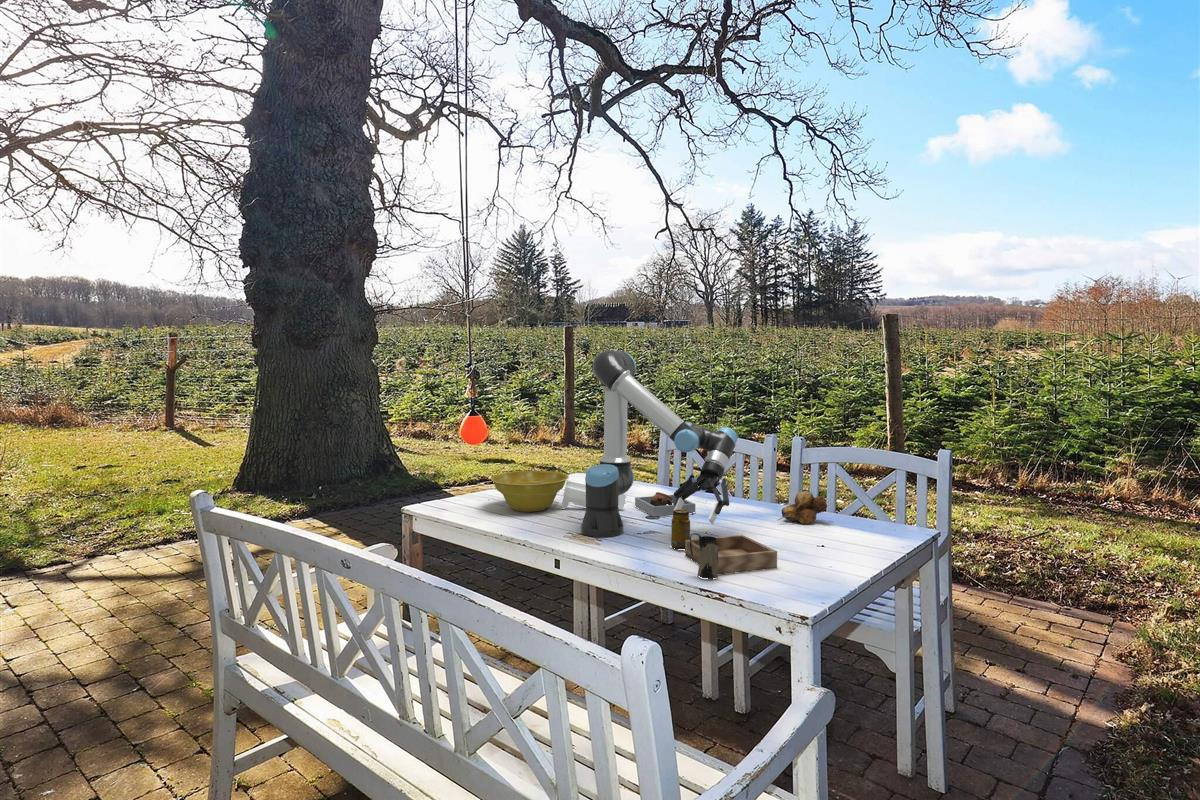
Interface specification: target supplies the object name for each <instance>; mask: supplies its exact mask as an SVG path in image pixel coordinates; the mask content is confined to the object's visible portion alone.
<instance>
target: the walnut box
mask: <svg viewBox="0 0 1200 800" xmlns="http://www.w3.org/2000/svg"><path fill="white" fill-rule="evenodd" d="M714 537H715V536H714ZM715 538H717V545H718V574H722V575H726V574H725V573H731V574H736V573H735V572H739V573H746V572H745V571H748V572H753V571H752V570H756V571H762V570H763V569H765V570H770V569H772V570H773V569H777V568H778V550H775V549H774V548H771V547H769V546H767V545H765V544H763V543H760V542H759V541H757V540H755V539H753V538H750V537H748V536H745V534H744V535H743V534H737V535H736V534H735V535H727V536H726V535H725V536H716V537H715ZM691 541H692V553H693V556H694V557H698V558H693V557H692V555H691V550H690V540H685V551H684V553H685V556H684V557H686V556H687V557H686V558H688V559H689V558H690V559H689V560H691V559H692V560H693V561H692V560H691V561H692V562H694V561H695V562H694V563H696V562H697V563H698V565H699V538H695V539H694V538H693V539H691ZM697 563H696V564H697Z"/></svg>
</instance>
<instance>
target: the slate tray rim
mask: <svg viewBox="0 0 1200 800" xmlns="http://www.w3.org/2000/svg"><path fill="white" fill-rule="evenodd" d="M667 495H668V496H670V497H671V498H672V503H674V504H675V502H676V500H677V499H676V498H675V496H674V495H673V494H667ZM653 496H654V495H649V496H639V497H638V496H637V497H636V496H635V497H634V507H635V506H636V507H638V508H639V509H638V508H637V509H638V510H640V509H641V510H643V511H645V512H647V513H648V514H647V513H646V514H647V515H649V514H650V515H652V516H663V517H665V516H664V515H673V514H672V513H673V511H674V508H675V506H674V505H666V506H653V505H651V504H650V501H651V498H652V497H653ZM683 501H684V504H683V506H682V509H681V510H687V511H689V513H693V512H695V513H696V503H694V502H693V501H690V500H688V499H687V498H686V499H685V500H683ZM636 507H635V508H636ZM641 510H640V511H641ZM643 511H642V512H643ZM645 512H644V513H645ZM650 515H649V516H650ZM652 516H651V517H652Z"/></svg>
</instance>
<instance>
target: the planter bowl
mask: <svg viewBox="0 0 1200 800" xmlns="http://www.w3.org/2000/svg"><path fill="white" fill-rule="evenodd" d="M569 479H570V476H569V475H568V474H566V473H564V472H559V471H554V470H553V471H552V470H537V469H536V470H519V471H508V472H502V473H498V474H495V475H493V476H490V481H491V482H493V485H494V487H495V489H496V490H497V491H498V492H499V493H500V494H502V495H503V498H504V499H505V502H506V503H507V505H508V506H509V507H510V508H512V509H513V510H514V511H518V512H523V513H525V512H526V513H528V512H529V513H532V512H539V511H545V510H546V509H548V508H549V507H550V506H551V505H552V504H553V502H554V500H555V499H556V496H557V495H558V493H559V492H560V491H561V490H563V488H565V485H566V482H567V480H569Z"/></svg>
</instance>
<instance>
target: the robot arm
mask: <svg viewBox="0 0 1200 800" xmlns="http://www.w3.org/2000/svg"><path fill="white" fill-rule="evenodd" d="M636 370H637V365H636V361H635V359H634V358H633V356H632V355H630V354H629V353H627V352H625V351H623V350H607V349H605V350H604V351H601V352H599V353H598V354H597V355H596V356H595V358H594V359H593V362H592V372H593V374H594V376H595V378H596V379H597V380H598V381H599V382H600V388H601V389H602V390H603V391H604V413H603V415H604V417H603V418H604V420H603V422H604V424H603V430H604V431H603V455H602V456H601V458H599V464H597V465H591V466H589V467H588V468H587V469H586V471H585V477H584V480H585V484H586V507H585V512H584V516H583V518H582V522H581V525H580V533H581V534H583V535H585V536H588V537H595V538H608V537H609V538H610V537H616V536H620V535H623V533H624V524H623V521H622V517H621V515H620V511H619V510H620V509H619V508H618V507H619V505H618V496H619V495H622V494H624V493H626V492H629V490H630V489H631V487H632V486H633V484H634V479H635V474H634V470H633V469H632V468H631V463H632V461H631V459H630V457H629V456H628V454H627V453H628V446H627V445H628V405H629V404H630V405H631V406H632V407H634V408H635V409H636V410H637V411H638V412H639V413H640V414H641V415H643V416H644V417H645V418H646V419H647V420H648V421H650V422H651V423H652V424H653V425H654V426H655V427H656V428H658V429H659V430H660V431H661V432H662V433H663V434H665V435H666V436H667V437H668V438H669V439H670V440H672V442H673V443H674V445H675V448H676V449H677V450H678V451H680V452H682V453H691V452H694V451H695V450H697V449H702V450H705V451H706V452H708V453H707V455H706V457H705V459H704V463H703V464H702V467H701V469H700V472H699V475H698V476H695V475H694V474H690V475H689V477H688V479H687V480H686V481H685V482H683V484H681V486H679V487H678V488H677V489H676V490H675V492H673V494H672V495H674V496H675V498H676V499H677V500H676V502H675V504H674V506H675V508H674V510H681V509H682V506H683V504H684V501H683V500H685V499H686V500H687V498H689V497H691V496H692V495H694V494H695V493H697V492H700V491H707V492H711V491H712V492H713V495H714V497H715V498H716V501H717V502H716V501H715V502H714V504H713V506H712V509H711V511H710V513H709V517H708V520H709V521H708V522H710V524H711V525H714V524H715V521H716V518H717V516H718V515H720V514H721V511H722V509H723V507H725V506H726V507H729V506H730V498H729V491H728V486H729V482H728V480H727V478H726V477H723V476H724V473H725V471H726V468H727V466H728V464H729V462H730V459H731V457H732V454H733V453H734V449H735V448H736V444H737V442H738V438H739V437H738V434H737V432H736V431H735V430H734V429H732V428H730V427H727V426H726V427H724V426H722V427H720V428H718V430H713V429H709V428H706V427H703V426H700V425H698V424H696V423H690V422H685V421H684V420H683V419H682V418H681V417H680V416H678V415H677V414H676V413H675V412H674V411H673V410H672V409H670V407H668V406H667V405H666V404H665V403H663V402H662V401H661V400H660V399H659V398H657V397H656V396H655V395H654V394H653V393H652V392H651V391H650V390H649V389H647V388H646V387H645V386H644V385H643V384H642V383H640V382H639V381H638V380H637V379H636V378H635V377H634V376H635V374H636ZM628 403H629V404H628ZM719 485H721V486H720V487H721V492H722V498H721V496H720V493H719V491H718V489H717V487H718V486H719ZM626 494H627V493H626ZM672 514H673V513H672Z"/></svg>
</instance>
